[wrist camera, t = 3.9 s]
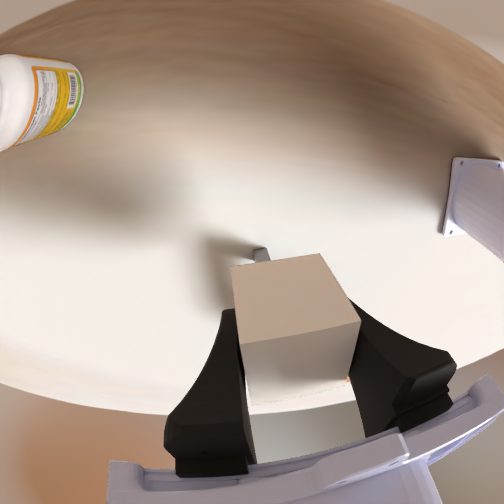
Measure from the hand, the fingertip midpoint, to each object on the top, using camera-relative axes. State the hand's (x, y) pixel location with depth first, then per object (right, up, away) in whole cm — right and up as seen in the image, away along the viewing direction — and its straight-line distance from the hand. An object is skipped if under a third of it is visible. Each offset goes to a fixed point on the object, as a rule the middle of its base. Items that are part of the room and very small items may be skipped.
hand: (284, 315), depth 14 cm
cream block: (0, +1, +1) cm, 2 cm away
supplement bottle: (-15, +14, 0) cm, 21 cm away
